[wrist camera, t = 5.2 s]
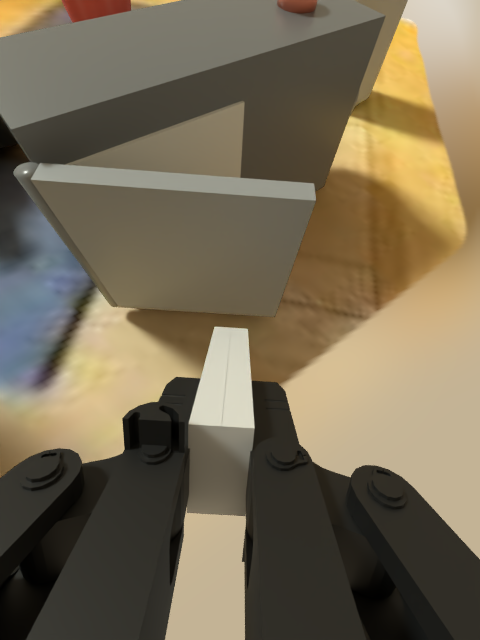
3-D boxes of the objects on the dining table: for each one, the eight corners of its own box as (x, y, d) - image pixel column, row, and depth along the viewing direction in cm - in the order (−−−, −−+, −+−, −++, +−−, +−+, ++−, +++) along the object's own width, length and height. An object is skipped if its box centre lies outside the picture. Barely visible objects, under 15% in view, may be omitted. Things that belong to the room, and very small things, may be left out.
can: (309, 77, 38) (343, -76, 27) (365, 84, 38) (421, -66, 27) (308, 107, 34) (346, -53, 24) (369, 115, 34) (435, -43, 23)
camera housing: (120, 299, 21) (-3, 107, 10) (77, 234, 24) (-61, 22, 12) (340, 179, 28) (418, -9, 17) (289, 140, 31) (327, -47, 20)
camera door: (107, 306, 20) (9, 178, 11) (110, 294, 20) (19, 161, 11) (274, 317, 20) (315, 200, 11) (274, 304, 20) (314, 183, 11)
